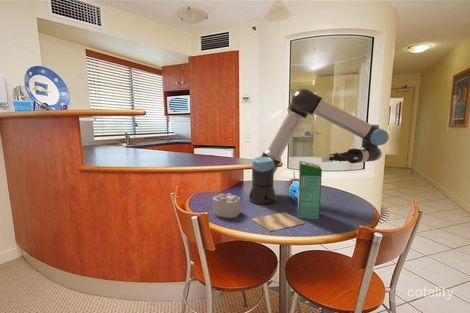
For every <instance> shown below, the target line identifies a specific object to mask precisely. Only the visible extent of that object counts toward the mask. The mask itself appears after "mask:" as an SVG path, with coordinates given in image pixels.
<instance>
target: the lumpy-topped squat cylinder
mask: <svg viewBox="0 0 470 313" xmlns="http://www.w3.org/2000/svg"><path fill="white" fill-rule="evenodd" d="M241 203H242V201H241V197H240V196H237V195H235V194H232V193H230V192H229V193H226V194H224V193H220V194H218V195H214V196H213V198H212V213H213V215H215V216H217V217H220V218H228V219H231V218H233V219H235V218H237V217H238V215H240V214H241V212H242V211H241V210H242V209H241V206H242V205H241Z"/></svg>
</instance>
